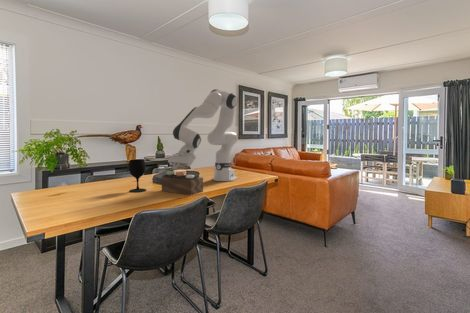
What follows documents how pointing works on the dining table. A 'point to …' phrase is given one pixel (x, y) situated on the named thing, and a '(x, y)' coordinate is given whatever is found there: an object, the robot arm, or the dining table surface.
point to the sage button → (170, 173)
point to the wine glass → (137, 172)
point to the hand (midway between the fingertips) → (174, 169)
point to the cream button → (190, 176)
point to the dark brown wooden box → (182, 184)
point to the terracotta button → (179, 173)
